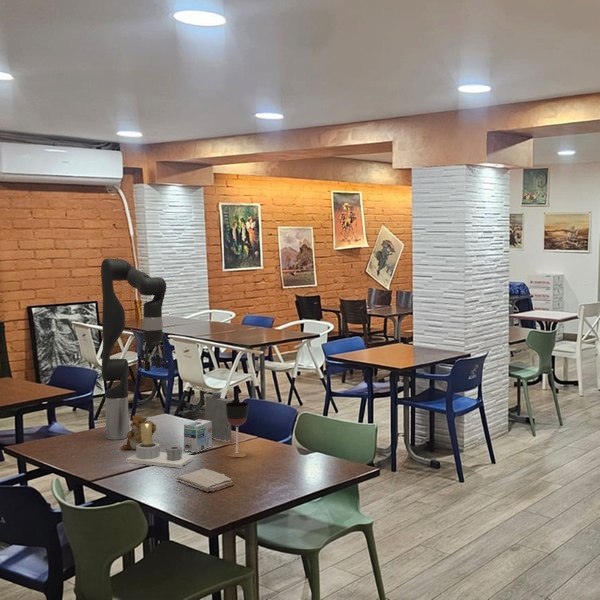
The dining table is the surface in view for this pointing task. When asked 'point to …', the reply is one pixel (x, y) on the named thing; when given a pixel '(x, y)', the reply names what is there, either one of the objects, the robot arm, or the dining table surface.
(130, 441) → the stuffed squirrel
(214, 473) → the washcloth
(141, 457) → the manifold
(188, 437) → the light bulb box
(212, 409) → the grey upright flat block
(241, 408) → the wineglass
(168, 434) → the dining table surface
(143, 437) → the brass cylinder
